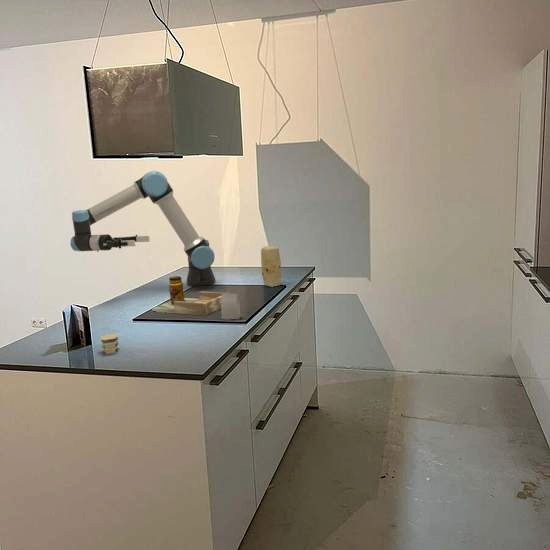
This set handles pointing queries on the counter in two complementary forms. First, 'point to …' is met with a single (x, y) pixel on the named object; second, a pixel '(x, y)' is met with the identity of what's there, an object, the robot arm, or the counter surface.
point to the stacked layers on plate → (110, 343)
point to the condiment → (176, 290)
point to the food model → (271, 266)
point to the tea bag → (230, 306)
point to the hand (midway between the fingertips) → (142, 240)
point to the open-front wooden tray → (194, 304)
